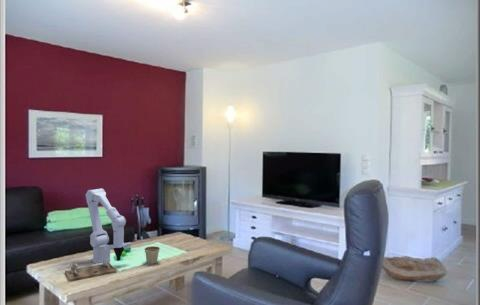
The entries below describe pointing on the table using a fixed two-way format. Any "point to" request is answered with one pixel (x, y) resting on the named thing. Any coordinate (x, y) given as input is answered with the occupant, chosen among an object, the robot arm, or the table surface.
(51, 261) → the table surface
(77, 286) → the table surface
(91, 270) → the gauge board
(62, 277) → the table surface
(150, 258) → the flower pot
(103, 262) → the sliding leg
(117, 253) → the robot arm
